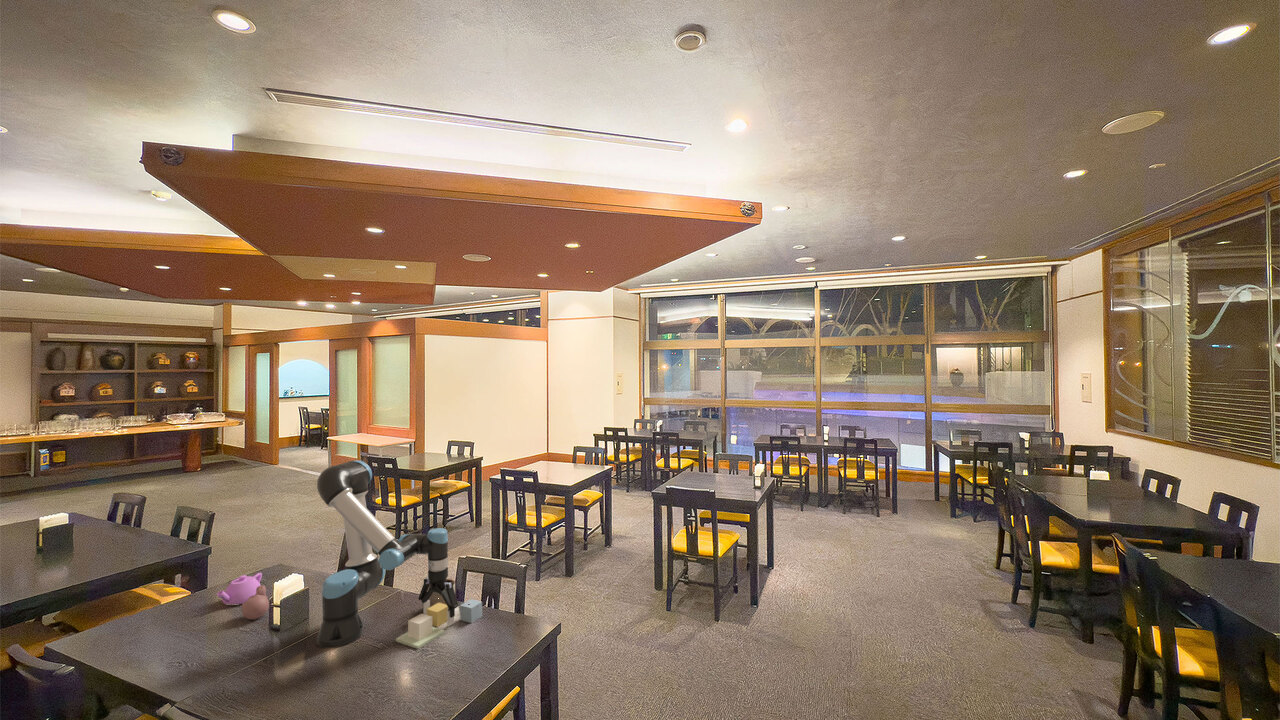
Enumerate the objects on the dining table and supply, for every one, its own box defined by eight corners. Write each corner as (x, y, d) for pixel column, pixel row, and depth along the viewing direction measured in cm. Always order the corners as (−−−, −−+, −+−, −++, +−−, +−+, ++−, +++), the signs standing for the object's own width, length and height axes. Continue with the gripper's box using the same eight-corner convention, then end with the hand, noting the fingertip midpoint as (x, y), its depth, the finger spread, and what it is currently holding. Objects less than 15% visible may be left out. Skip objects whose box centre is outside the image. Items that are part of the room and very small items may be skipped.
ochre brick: (426, 624, 196) (426, 609, 196) (438, 617, 201) (438, 602, 201) (437, 627, 193) (437, 612, 193) (449, 620, 198) (449, 605, 199)
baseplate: (395, 641, 183) (395, 622, 183) (422, 626, 194) (422, 608, 194) (418, 649, 178) (418, 629, 178) (444, 632, 189) (444, 614, 189)
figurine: (254, 611, 208) (254, 582, 208) (274, 614, 205) (274, 585, 205) (232, 621, 199) (232, 592, 199) (253, 624, 196) (253, 594, 197)
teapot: (204, 610, 209) (204, 585, 209) (248, 590, 229) (248, 567, 229) (232, 612, 207) (232, 587, 207) (274, 591, 226) (274, 568, 227)
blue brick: (460, 620, 199) (460, 605, 199) (471, 613, 204) (471, 599, 204) (471, 623, 196) (471, 608, 196) (482, 616, 201) (482, 601, 201)
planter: (449, 612, 205) (449, 589, 205) (423, 613, 205) (423, 590, 205) (459, 600, 215) (459, 578, 216) (434, 600, 216) (434, 578, 216)
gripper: (408, 566, 200) (409, 619, 199) (453, 577, 189) (453, 632, 188) (424, 560, 206) (424, 610, 206) (467, 569, 195) (468, 623, 195)
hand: (438, 621), depth 197 cm, fingers open, 13 cm apart
